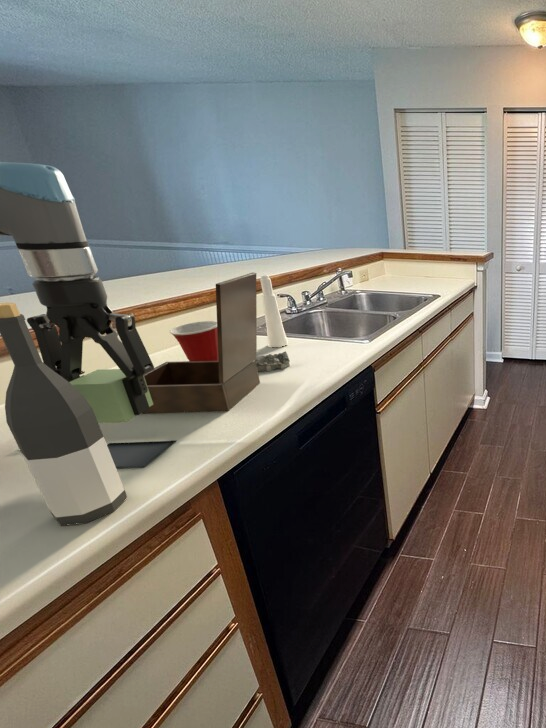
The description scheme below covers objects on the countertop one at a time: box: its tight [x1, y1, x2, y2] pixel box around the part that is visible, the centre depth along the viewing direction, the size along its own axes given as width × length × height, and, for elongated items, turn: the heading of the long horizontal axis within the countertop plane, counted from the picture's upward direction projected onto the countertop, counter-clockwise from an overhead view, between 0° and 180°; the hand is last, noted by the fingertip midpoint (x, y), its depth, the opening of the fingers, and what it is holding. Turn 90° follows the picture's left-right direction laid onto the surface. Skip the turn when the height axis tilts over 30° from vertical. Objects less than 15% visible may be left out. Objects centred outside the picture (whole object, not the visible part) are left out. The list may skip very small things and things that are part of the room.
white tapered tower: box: [259, 274, 290, 348], centre depth 131 cm, size 6×6×22 cm
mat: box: [106, 440, 177, 470], centre depth 76 cm, size 11×11×1 cm
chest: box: [141, 360, 261, 415], centre depth 95 cm, size 20×16×7 cm
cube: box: [70, 368, 153, 424], centre depth 72 cm, size 7×7×7 cm
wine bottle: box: [0, 302, 128, 527], centre depth 56 cm, size 8×8×30 cm
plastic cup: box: [169, 320, 218, 361], centre depth 113 cm, size 11×11×12 cm
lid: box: [215, 272, 258, 383], centre depth 91 cm, size 21×16×1 cm
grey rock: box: [255, 351, 291, 373], centre depth 114 cm, size 11×8×4 cm
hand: (117, 412), depth 73 cm, fingers closed on cube, 7 cm apart
